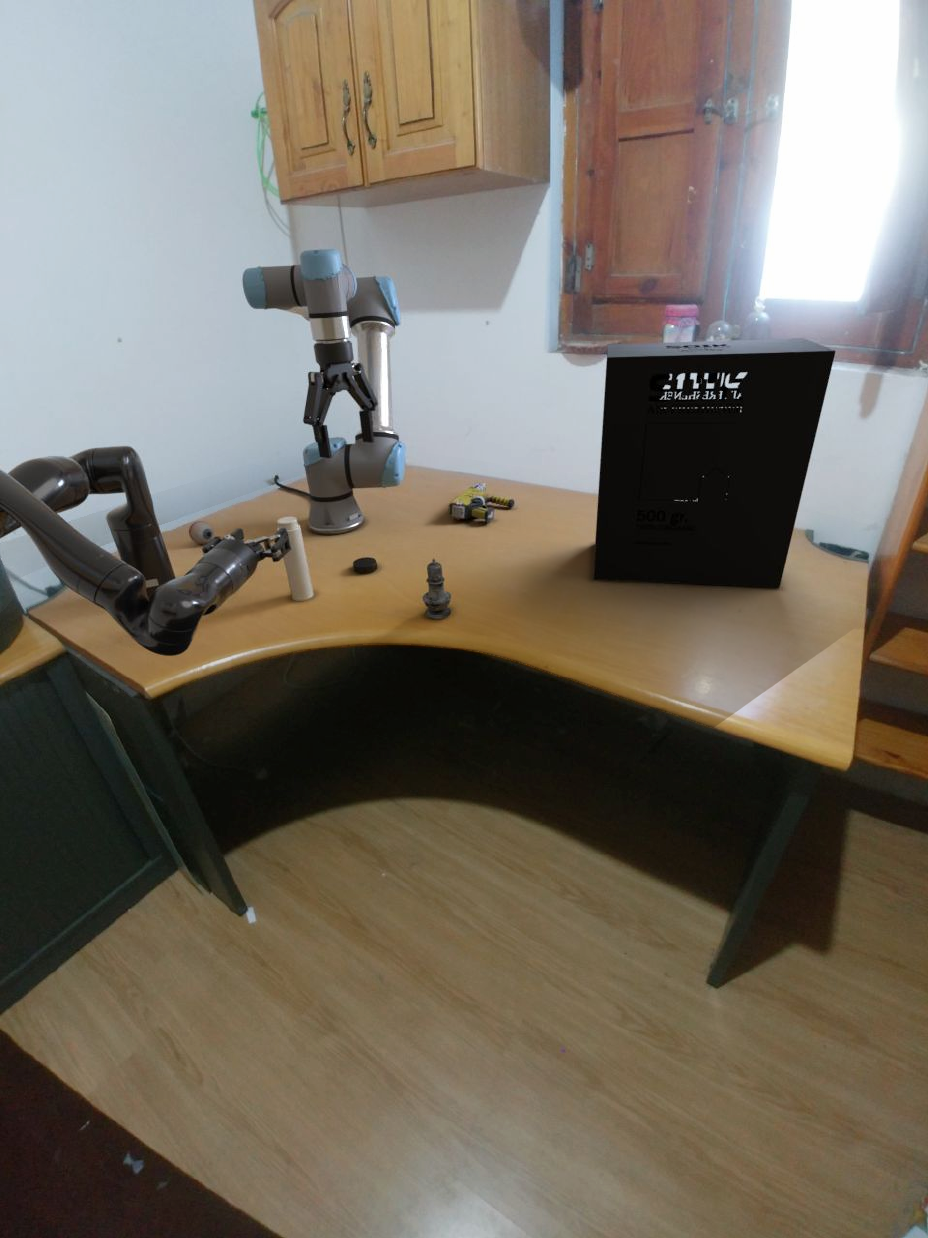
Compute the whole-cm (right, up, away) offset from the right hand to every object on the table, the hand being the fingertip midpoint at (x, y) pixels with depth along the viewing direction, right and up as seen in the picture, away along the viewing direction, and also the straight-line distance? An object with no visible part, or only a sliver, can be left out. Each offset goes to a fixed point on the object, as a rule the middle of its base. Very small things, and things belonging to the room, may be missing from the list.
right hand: (348, 449), depth 129 cm
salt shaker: (+20, -35, -7) cm, 41 cm away
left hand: (-13, -20, -16) cm, 29 cm away
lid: (+1, -23, +13) cm, 27 cm away
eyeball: (-45, -16, +33) cm, 58 cm away
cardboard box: (+74, -24, +7) cm, 78 cm away
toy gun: (+31, -5, +45) cm, 55 cm away
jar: (-11, -31, +3) cm, 33 cm away
